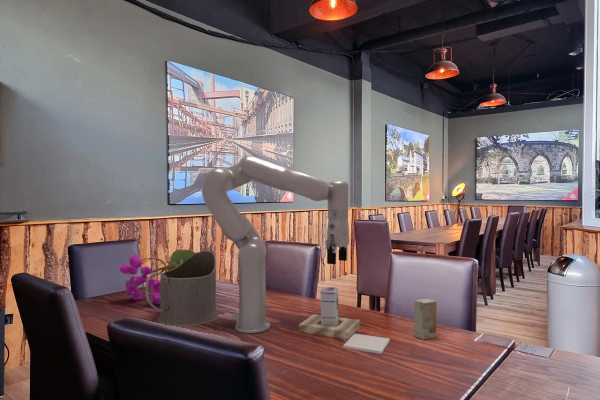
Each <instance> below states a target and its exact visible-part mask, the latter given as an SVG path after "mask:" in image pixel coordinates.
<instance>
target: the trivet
mask: <svg viewBox="0 0 600 400" xmlns="http://www.w3.org/2000/svg"><path fill="white" fill-rule="evenodd" d="M390 342H391V338H389V337H382V336H381V337H380V336H374V335H367V334H362V333H361V334H360V333H359V334H358V333H354V334H353V335H352V336H351V337H350V338H349V339H347V341H346V342H345V343H344V344H343V345H342V347H343V349H348V350H354V351H360V352H365V353H373V354H379V355H382V354H383V352H385V350H386V348H387V346H389V343H390Z"/></svg>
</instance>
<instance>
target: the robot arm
mask: <svg viewBox="0 0 600 400" xmlns="http://www.w3.org/2000/svg"><path fill="white" fill-rule="evenodd" d="M203 179H204V180H203V182H202V186H201V195H202V199H203V202H204V205H206V208H207V209H208V211H209V212H210V214H211V215H212V217H213V219H214V220H215V223H217V225H218V227H219V228H220V230H221V231H222V233H223V234H224V236H225V238H226V239H228V240H229V241H232V242H233V243H234V245H235V246H236V247H237V249H238V254H237V261H238V262H237V264H238V308H239V309H238V313H232V314H231V316H230V321H235V322H236V323H235V324H234V329H235V331H237V332H239V333H243V334H259V333H263V332H267V331H268V330H269V329H270V328H271V323H270V322H269V321H267V319H266V317H267V315H266V311H267V309H266V306H267V305H266V301H267V300H266V299H267V298H266V297H267V296H266V291H267V290H266V287H267V286H266V285H267V284H266V256H267V252H268V251H267V246H266V244H265V242H264V240H263V239H262V237H261V235H260V234H259V232H258V231H257V230H256V228H255V226H254V225H253V223H252V222H251V221H250V219H248V217H247V216H244V215H242V214H241V213H240V212H239V210H238V209H237V208H236V205H235V204H234V203H233V201H232V199H230V197H229V195H228V193H227V192H229V191H232V190H235V189H236V188H240V187H241V186H244V185H247V184H248V183H250V182H252V181H253V182H255V183H259V184H262V185H265V186H268V187H271V188H273V189H275V190H279V191H286V192H288V193H292V194H296V195H299V196H302V197H304V198H307V199H310V200H312V201H314V202H321V201H327V218H326V219H327V221H328V222H327V229H326V230H327V231H326V240H325V248H326V263H327V265H336V264H337V252H336V250H337V248H339V249H338V261H341V262H342V261H343V262H346V261H347V260H348V246H349V245H350V227H349V190H350V189H349V188H350V187H349V183H348V182H347V181H342V180H341V181H339V180H333V181H329V182H328V181H327V182H326V181H325V180H323V179H320V178H317V177H315V176H312V175H308V174H306V173H303V172H300V171H296V170H294V169H293V168H288V167H286V166H283V165H280V164H277V163H275V162H272V161H269V160H266V159H264V158H260V157H258V156H255V155H249V154H247V155H245V156H243V157H242V158H241V159H240V160H239V162H238V163H236V164H234V165H230V166H229V167H225V168H224V167H213V169H211V170H210V171H208V172H207V173H206V175H205V177H204V178H203Z"/></svg>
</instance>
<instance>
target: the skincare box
mask: <svg viewBox="0 0 600 400" xmlns="http://www.w3.org/2000/svg"><path fill="white" fill-rule="evenodd" d="M413 311H414V312H413V313H414V314H413V315H414V317H413V318H414V319H413V321H414V323H413V324H414V325H413V328H414V329H413V330H414V332H413V336H414V337H416V338H419V339H421V340H427V339H433V338H437V301H436V300H434V299H430V298H423V299H415V300H414V310H413Z"/></svg>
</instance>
